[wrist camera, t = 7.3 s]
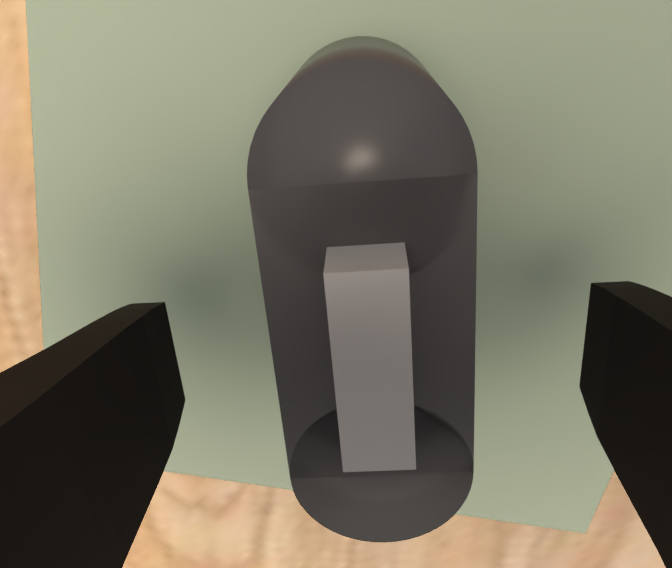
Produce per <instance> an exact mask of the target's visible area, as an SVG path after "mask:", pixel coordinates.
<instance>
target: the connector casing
mask: <svg viewBox="0 0 672 568" xmlns="http://www.w3.org/2000/svg"><path fill="white" fill-rule="evenodd" d="M247 185H248V194H249V201H250V208H251V214H252V221H253V228H254V235H255V242H256V249H257V255H258V262H259V269H260V276H261V283H262V290H263V296H264V303H265V310H266V317H267V324H268V331H269V337H270V344H271V351H272V358H273V365H274V372H275V378H276V385H277V392H278V399H279V406H280V413H281V419H282V426H283V433H284V440H285V447H286V454H287V460H288V467H289V474H290V480H291V484H292V488H293V491H294V493H295V496H296V498H297V499H298V501H299V503H300V504H301V506H302V507H303V508H304V509H305V511H306V512H307V513H308V514H309V515H310V516H311V517H312V518H313V519H314V520H316V521H317V522H319V523H320V524H321V525H323V526H324V527H326V528H328V529H330V530H331V531H333V532H336V533H338V534H340V535H343V536H346V537H349V538H353V539H357V540H362V541H370V542H395V541H402V540H407V539H411V538H415V537H418V536H421V535H423V534H426V533H428V532H430V531H432V530H434V529H436V528H438V527H439V526H441V525H442V524H444V523H445V522H447V521H448V520H449V519H450V518H451V517H452V516H454V515H455V514H456V512H457V511H458V510H459V509H460V508H461V506H462V505H463V503H464V502H465V500H466V499H467V496H468V494H469V492H470V489H471V486H472V482H473V473H474V409H475V335H476V261H477V187H478V170H477V157H476V152H475V147H474V143H473V140H472V137H471V134H470V131H469V128H468V126H467V124H466V123H465V121H464V119H463V117H462V115H461V113H460V112H459V111H458V109H457V108H456V106H455V105H454V103H453V102H452V101H451V100H450V98H449V97H448V96H447V95H446V93H445V92H444V91H443V90H442V88H441V87H440V86H439V85H438V84H437V82H436V81H435V80H434V79H433V77H432V76H431V75H430V74H429V72H428V71H427V70H426V69H425V67H424V66H423V65H422V64H421V63H420V62H419V61H418V59H417V58H416V57H415V56H413V55H412V54H411V53H410V52H409V51H407V50H406V49H404V48H403V47H401V46H399V45H398V44H395V43H393V42H391V41H388V40H385V39H381V38H378V37H370V36H355V37H349V38H344V39H341V40H338V41H335V42H333V43H330V44H328V45H326V46H325V47H323V48H321V49H320V50H318V51H317V52H316V53H314V54H313V55H312V56H311V57H310V58H309V59H308V60H307V61H306V62H305V63H304V64H303V65H302V67H301V68H300V69H299V70H298V72H297V73H296V74H295V75H294V76H293V78H292V79H291V80H290V81H289V83H288V84H287V85H286V86H285V88H284V89H283V90H282V91H281V93H280V94H279V95H278V96H277V98H276V99H275V100H274V101H273V103H272V104H271V105H270V107H269V108H268V110H267V111H266V113H265V114H264V115H263V117H262V119H261V121H260V123H259V125H258V127H257V129H256V131H255V133H254V136H253V139H252V142H251V145H250V150H249V156H248V161H247Z"/></svg>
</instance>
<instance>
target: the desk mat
mask: <svg viewBox="0 0 672 568" xmlns="http://www.w3.org/2000/svg"><path fill="white" fill-rule="evenodd" d="M26 15H27V34H28V54H29V73H30V93H31V112H32V132H33V151H34V171H35V190H36V210H37V229H38V249H39V268H40V288H41V307H42V327H43V346H44V349H46V348H48V347H49V346H51V345H53V344H55V343H57V342H58V341H60V340H62V339H64V338H65V337H67V336H69V335H71V334H72V333H74V332H76V331H78V330H79V329H81V328H83V327H85V326H86V325H88V324H90V323H92V322H94V321H95V320H97V319H99V318H101V317H103V316H105V315H106V314H108V313H110V312H112V311H114V310H116V309H118V308H121V307H123V306H126V305H128V304H132V303H154V302H165V304H166V309H167V314H168V319H169V324H170V328H171V333H172V338H173V343H174V347H175V352H176V357H177V362H178V366H179V371H180V376H181V381H182V385H183V390H184V395H185V404H184V408H183V412H182V416H181V421H180V425H179V428H178V432H177V436H176V439H175V443H174V446H173V449H172V452H171V454H170V457H169V459H168V462H167V464H166V466H165V469H164V471H167V472H174V473H180V474H187V475H194V476H201V477H207V478H214V479H221V480H228V481H234V482H241V483H248V484H255V485H261V486H268V487H275V488H282V489H288V490H293V488H292V484H291V480H290V474H289V467H288V460H287V454H286V447H285V440H284V433H283V426H282V419H281V413H280V406H279V399H278V392H277V385H276V378H275V372H274V365H273V358H272V351H271V344H270V337H269V331H268V324H267V317H266V310H265V303H264V296H263V290H262V283H261V276H260V269H259V262H258V255H257V249H256V242H255V235H254V228H253V221H252V214H251V208H250V201H249V194H248V185H247V161H248V156H249V150H250V145H251V142H252V139H253V136H254V133H255V131H256V129H257V127H258V125H259V123H260V121H261V119H262V117H263V115H264V114H265V113H266V111H267V110H268V108H269V107H270V105H271V104H272V103H273V101H274V100H275V99H276V98H277V96H278V95H279V94H280V93H281V91H282V90H283V89H284V88H285V86H286V85H287V84H288V83H289V81H290V80H291V79H292V78H293V76H294V75H295V74H296V73H297V72H298V70H299V69H300V68H301V67H302V65H303V64H304V63H305V62H306V61H307V60H308V59H309V58H310V57H311V56H312V55H313V54H314V53H316V52H317V51H318V50H320V49H321V48H323V47H325V46H326V45H328V44H330V43H333V42H335V41H338V40H341V39H344V38H349V37H355V36H370V37H378V38H381V39H385V40H388V41H391V42H393V43H395V44H398V45H399V46H401V47H403V48H404V49H406V50H407V51H409V52H410V53H411V54H412V55H413V56H415V57H416V58H417V59H418V61H419V62H420V63H421V64H422V65H423V66H424V67H425V69H426V70H427V71H428V72H429V74H430V75H431V76H432V77H433V79H434V80H435V81H436V82H437V84H438V85H439V86H440V87H441V88H442V90H443V91H444V92H445V93H446V95H447V96H448V97H449V98H450V100H451V101H452V102H453V103H454V105H455V106H456V108H457V109H458V111H459V112H460V113H461V115H462V117H463V119H464V121H465V123H466V124H467V126H468V128H469V131H470V134H471V137H472V140H473V143H474V147H475V152H476V157H477V170H478V187H477V261H476V335H475V409H474V473H473V482H472V486H471V489H470V492H469V494H468V496H467V499H466V500H465V502H464V503H463V505H462V506H461V508H460V509H459V510H458V511H457V512H456V514H457V515H464V516H471V517H477V518H484V519H491V520H498V521H504V522H511V523H518V524H525V525H531V526H538V527H545V528H552V529H558V530H565V531H572V532H579V533H586V531H587V529H588V527H589V524H590V522H591V520H592V518H593V515H594V513H595V511H596V509H597V507H598V504H599V502H600V500H601V498H602V496H603V493H604V491H605V489H606V487H607V484H608V482H609V480H610V478H611V476H612V473H613V471H614V468H613V466H612V465H611V463H610V461H609V459H608V457H607V455H606V453H605V451H604V449H603V447H602V445H601V443H600V442H599V440H598V438H597V435H596V433H595V430H594V427H593V425H592V422H591V419H590V417H589V414H588V411H587V408H586V405H585V402H584V399H583V396H582V393H581V390H580V387H579V384H580V376H581V367H582V358H583V349H584V340H585V331H586V322H587V313H588V305H589V296H590V287H591V283H598V282H620V281H631V282H634V283H638V284H641V285H644V286H647V287H649V288H652V289H654V290H657V291H659V292H661V293H664V294H666V295H669V296H671V297H672V0H26Z"/></svg>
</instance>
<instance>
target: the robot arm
mask: <svg viewBox="0 0 672 568" xmlns="http://www.w3.org/2000/svg"><path fill="white" fill-rule="evenodd" d="M579 387H580V390H581V393H582V396H583V399H584V402H585V405H586V408H587V411H588V414H589V417H590V419H591V422H592V425H593V427H594V430H595V433H596V435H597V438H598V440H599V442H600V443H601V445H602V447H603V449H604V451H605V453H606V455H607V457H608V459H609V461H610V463H611V465H612V466H613V468H614V470H615V472H616V474H617V476H618V478H619V480H620V481H621V483H622V485H623V487H624V489H625V491H626V493H627V494H628V496H629V498H630V500H631V502H632V504H633V506H634V507H635V509H636V511H637V513H638V515H639V517H640V519H641V520H642V522H643V524H644V526H645V528H646V530H647V532H648V533H649V535H650V537H651V539H652V541H653V543H654V545H655V546H656V548H657V550H658V552H659V554H660V556H661V558H662V560H663V562H664V564H665V566H666V568H672V297H671V296H669V295H666V294H664V293H661V292H659V291H657V290H654V289H652V288H649V287H647V286H644V285H641V284H638V283H634V282H631V281H620V282H598V283H591V287H590V296H589V305H588V313H587V322H586V331H585V340H584V349H583V358H582V367H581V376H580V384H579ZM184 404H185V395H184V390H183V385H182V381H181V376H180V371H179V366H178V362H177V357H176V352H175V347H174V343H173V338H172V333H171V328H170V324H169V319H168V314H167V309H166V304H165V302H154V303H132V304H128V305H126V306H123V307H121V308H118V309H116V310H114V311H112V312H110V313H108V314H106V315H105V316H103V317H101V318H99V319H97V320H95V321H94V322H92V323H90V324H88V325H86V326H85V327H83V328H81V329H79V330H78V331H76V332H74V333H72V334H71V335H69V336H67V337H65V338H64V339H62V340H60V341H58V342H57V343H55V344H53V345H51V346H49V347H48V348H46V349H44V350H42V351H41V352H39V353H37V354H35V355H33V356H31V357H30V358H28V359H26V360H24V361H22V362H20V363H18V364H16V365H14V366H13V367H11V368H9V369H7V370H5V371H3V372H1V373H0V568H122V567H123V564H124V562H125V559H126V557H127V555H128V552H129V550H130V548H131V545H132V543H133V541H134V538H135V536H136V534H137V531H138V529H139V527H140V525H141V522H142V520H143V518H144V515H145V513H146V511H147V508H148V506H149V504H150V502H151V499H152V497H153V495H154V492H155V490H156V488H157V485H158V483H159V481H160V478H161V476H162V474H163V471H164V469H165V466H166V464H167V462H168V459H169V457H170V454H171V452H172V449H173V446H174V443H175V439H176V436H177V432H178V428H179V425H180V421H181V416H182V412H183V408H184Z"/></svg>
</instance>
